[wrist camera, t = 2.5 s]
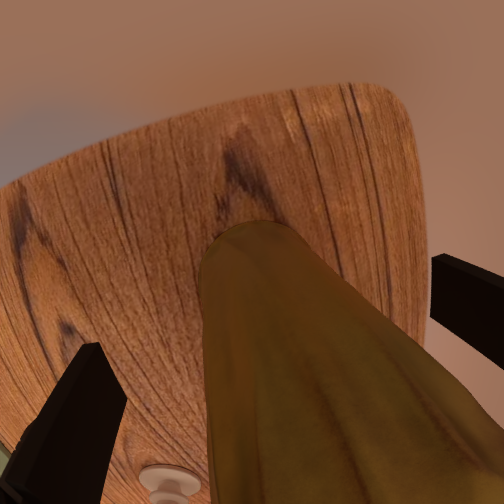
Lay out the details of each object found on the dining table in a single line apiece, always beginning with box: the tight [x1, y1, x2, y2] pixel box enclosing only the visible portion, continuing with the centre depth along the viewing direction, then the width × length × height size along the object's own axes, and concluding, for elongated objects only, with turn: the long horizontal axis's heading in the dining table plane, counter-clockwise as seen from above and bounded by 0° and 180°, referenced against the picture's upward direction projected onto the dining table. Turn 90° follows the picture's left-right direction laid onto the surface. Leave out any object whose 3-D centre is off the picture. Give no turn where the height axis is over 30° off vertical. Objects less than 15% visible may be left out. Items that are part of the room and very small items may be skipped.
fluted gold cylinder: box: [198, 221, 504, 504], centre depth 8 cm, size 6×6×14 cm
